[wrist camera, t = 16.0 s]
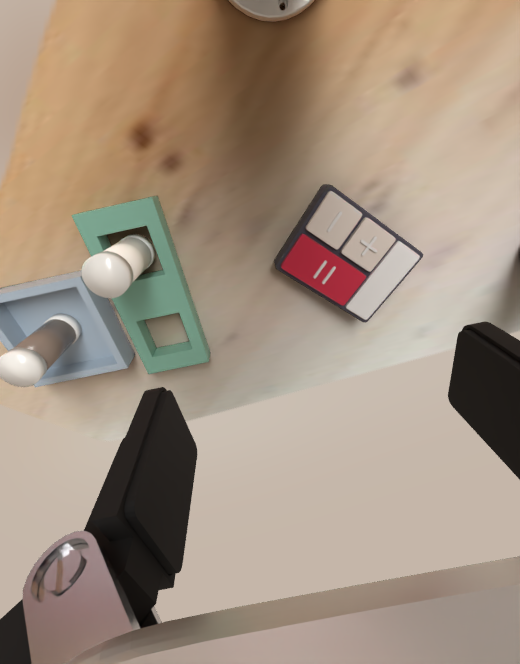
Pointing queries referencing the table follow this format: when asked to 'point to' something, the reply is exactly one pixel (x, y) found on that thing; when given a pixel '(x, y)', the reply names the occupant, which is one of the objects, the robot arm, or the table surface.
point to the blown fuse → (39, 351)
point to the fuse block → (149, 284)
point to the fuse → (118, 266)
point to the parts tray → (77, 301)
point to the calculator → (346, 254)
